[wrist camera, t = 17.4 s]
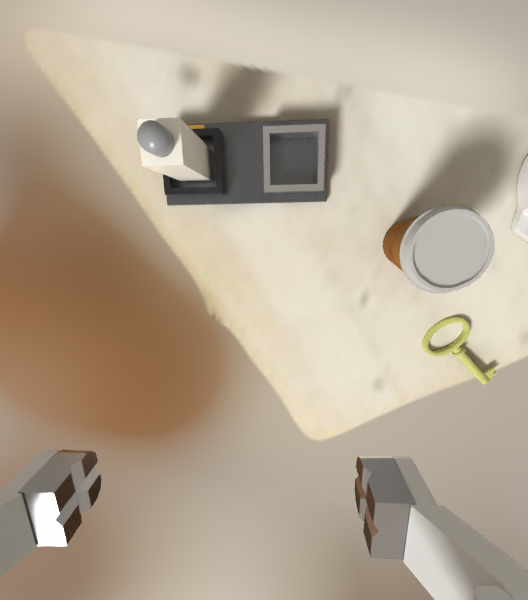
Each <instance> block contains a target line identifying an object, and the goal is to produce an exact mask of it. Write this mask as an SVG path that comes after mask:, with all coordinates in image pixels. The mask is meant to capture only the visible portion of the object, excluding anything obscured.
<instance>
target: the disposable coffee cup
mask: <svg viewBox="0 0 528 600" xmlns="http://www.w3.org/2000/svg"><path fill="white" fill-rule="evenodd" d="M383 249H384V253H385V255H386V257H387V258H388V259H389V260H390V261H391V262H392V263H394V264H395V265H396V266H397V267H398V268H399V269H401V270H402V271H403V272H404V274H405V276H406V277H407V279H408V280H409V281H410V282H411V283H412V284H413V285H415V286H416V287H418V288H420V289H422V290H424V291H427V292H431V293H447V292H452V291H455V290H459V289H461V288H464V287H466V286H469V285H470V284H471V283H473V282H474V281H476V280H477V279H478V278H479V277H480V276H481V275H482V274H483V273H484V272H485V271H486V269H487V267H488V266H489V264H490V262H491V259H492V256H493V252H494V236H493V232H492V230H491V227H490V226H489V224H488V223H487V222H486V221H485V220H484V219H483V218H482V217H481V216H480V215H479V214H478V213H477V212H475V211H474V210H472V209H470V208H468V207H465V206H462V205H454V204H452V205H442V206H438V207H435V208H433V209H430V210H428V211H426V212H425V213H423V214H422V215H420V216H417V217H414V218H411V219H407V220H404V221H401V222H398V223H396V224H395V225H393V226H392V227H391V228H390V229H389V230H388V231H387V233H386V235H385V237H384V240H383Z"/></svg>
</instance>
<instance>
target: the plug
mask: <svg viewBox="0 0 528 600" xmlns="http://www.w3.org/2000/svg"><path fill="white" fill-rule="evenodd" d="M137 124H138V132H137V138H138V142H139V144H140V150H141V159H142V166H144V167H146V168H149V169H151V170H154V171H156V172H159V173H162V174H164V175H167V176H169V177H172V178H175V179H177V180H180V181H182V182H205V181H213V180H212V163H211V149H210V148H209V147H208V146H207V145H206V144H205V143H204V142H203V141H202V140H201V139H200V138H199V137H198V136H197V135H196V134H195V133H194V132H193V131H192V130H191V129H190V128H189V127H188V126H187V125H186V124H185V123H184V122H183V121H182V120H181V119H180V118H157V119H137Z"/></svg>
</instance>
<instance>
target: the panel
mask: <svg viewBox="0 0 528 600" xmlns="http://www.w3.org/2000/svg"><path fill="white" fill-rule="evenodd" d="M328 121H329V119H318V120H292V121H266V122H240V123H214V124H188V125H187V126H188V127H189V128H190V129H191V130H192V131H193V132H194V133H195V134H196V135H197V136H198V137H199V138H200V139H201V140H202V141H203V142H204V143H205V144H206V145H207V146H208V147H209V148H210V149H211V163H212V180H213V181H205V182H182V181H180V180H177V179H175V178H172V177H169V176H167V175H164V174H163V180H164V190H165V195H167V205H209V204H250V203H292V202H326V187H327V154H328Z"/></svg>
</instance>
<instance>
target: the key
mask: <svg viewBox="0 0 528 600" xmlns="http://www.w3.org/2000/svg"><path fill="white" fill-rule="evenodd" d="M454 322H460V323H462V325H463V331H462V333H461V335H460V336H459V337H458V338H457V339H456V340H455V341H454V342H453V343H451V344H450V345H448V346H447V347H445V348H443V349H440V350H437V351H432V350H430V349H429V347H428V344H429V341H430V339H431V337H432V336H433V334H434V333H435V332H436V331H437V330H439V329H440V328H441V327H443V326H445V325H447V324H450V323H454ZM469 334H470V326H469V324H468V322H467V321H466V320H465V319H463V318H461V317H457V316H453V317H448V318H445V319H443V320H441V321H439V322H438V323H436V324H435V325H434V326H432V327H431V328H430V329H429V330H428V331H427V333H426V334H425V336H424V338H423V341H422V347H423V349H424V350H425V352H427V353H428V354H430V355H432V356H443V355H446V354H448V353H450V352H452V351H453V352H452V354H453V356H455V357H459V359H460V360H461V361H462V362H463V363H464V364H465V365H466V366H467V368H468V369H469V370H470V371H471V372H472V373H473V374H474V375H475V377H476V378H477V379H478V380H479V381H480V382H481V383H482V384H487V383H488V382H489V379H490V378H492V377H493V376H495V375H496V374H497V372H495V371H494V369H493V368H492V367H491V368H490V369H488V370H487V371H485V372H484V373H483V372H482V371H481V370H480V369H479V368H478V366H477V365H476V364H475V363H474V362H473V361H472V360H471V359H470V357H469V356H468V355H467V354H466V353H465V351H466V349H465V348H464V347H460V346H461V345H462V344H463V343H464V342H465V341H466V339H467V338H468V336H469Z"/></svg>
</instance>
